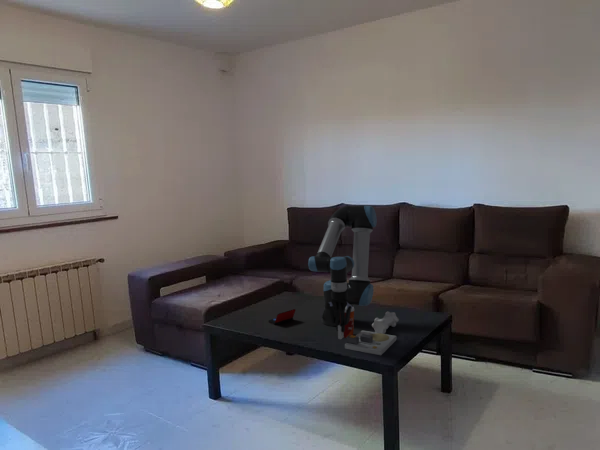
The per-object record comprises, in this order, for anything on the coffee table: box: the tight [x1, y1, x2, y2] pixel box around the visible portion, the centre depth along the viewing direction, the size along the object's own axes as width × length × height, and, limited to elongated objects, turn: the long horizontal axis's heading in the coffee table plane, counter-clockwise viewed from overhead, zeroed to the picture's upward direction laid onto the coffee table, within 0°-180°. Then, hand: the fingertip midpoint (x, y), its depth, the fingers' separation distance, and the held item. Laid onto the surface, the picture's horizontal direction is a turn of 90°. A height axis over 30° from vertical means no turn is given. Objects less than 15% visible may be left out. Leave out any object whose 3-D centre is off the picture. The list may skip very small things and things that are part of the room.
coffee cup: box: [340, 306, 355, 339], centre depth 229 cm, size 8×8×15 cm
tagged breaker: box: [345, 334, 359, 345], centre depth 214 cm, size 5×3×3 cm, turn 58°
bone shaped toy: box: [371, 311, 400, 334], centre depth 235 cm, size 15×9×8 cm, turn 142°
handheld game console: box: [268, 308, 296, 326], centre depth 255 cm, size 12×11×7 cm
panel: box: [344, 330, 397, 356], centre depth 217 cm, size 18×20×5 cm
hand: (341, 338), depth 217 cm, fingers closed
